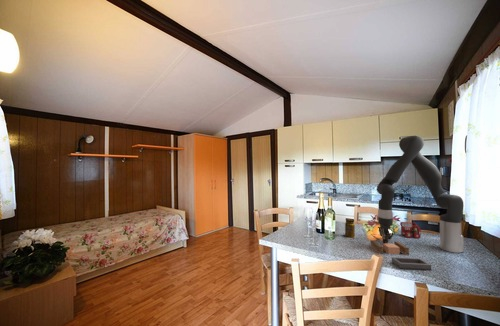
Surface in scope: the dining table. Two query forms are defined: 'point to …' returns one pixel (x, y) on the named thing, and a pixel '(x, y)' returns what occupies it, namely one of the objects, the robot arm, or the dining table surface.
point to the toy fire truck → (410, 230)
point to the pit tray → (411, 263)
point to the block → (391, 248)
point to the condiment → (349, 229)
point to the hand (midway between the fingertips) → (385, 245)
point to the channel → (402, 247)
